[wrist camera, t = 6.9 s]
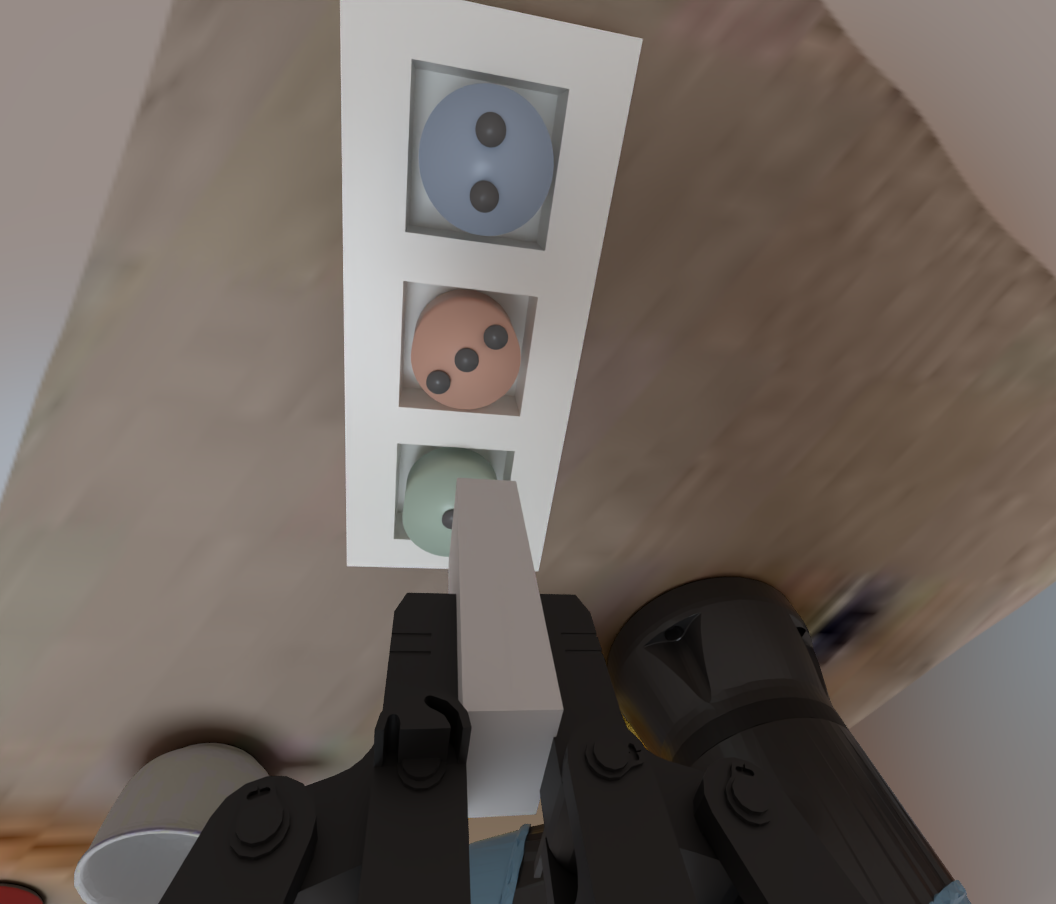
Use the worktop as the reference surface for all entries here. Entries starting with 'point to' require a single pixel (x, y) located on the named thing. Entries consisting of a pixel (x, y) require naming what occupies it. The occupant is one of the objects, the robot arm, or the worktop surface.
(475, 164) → the two pip button
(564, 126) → the button panel
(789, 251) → the worktop surface
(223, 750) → the teacup
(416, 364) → the three pip button
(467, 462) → the one pip button
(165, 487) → the worktop surface
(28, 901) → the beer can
